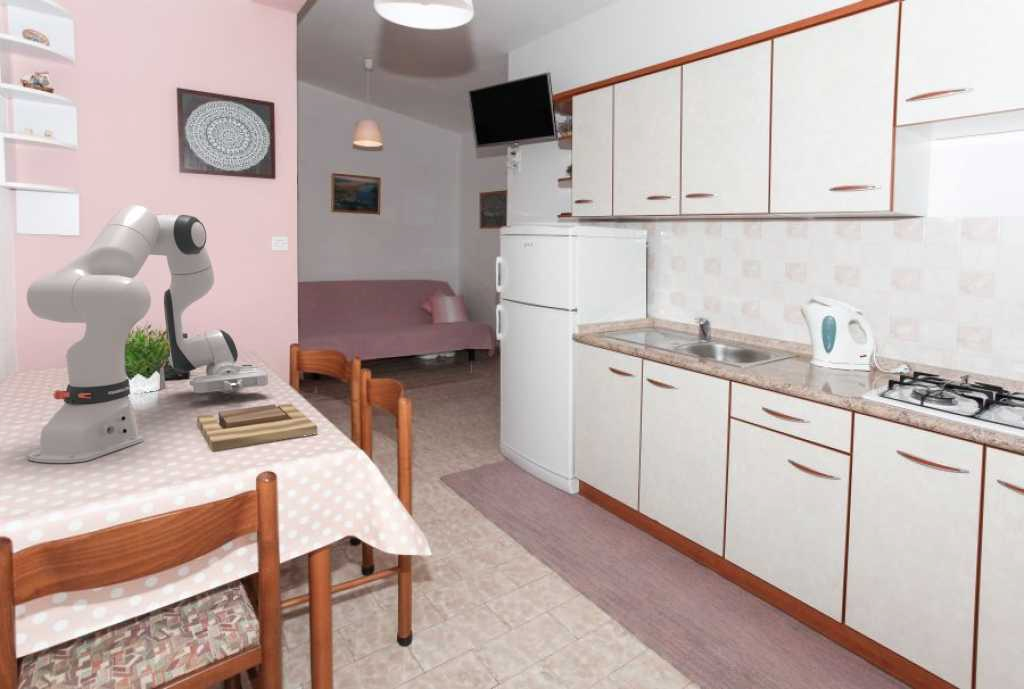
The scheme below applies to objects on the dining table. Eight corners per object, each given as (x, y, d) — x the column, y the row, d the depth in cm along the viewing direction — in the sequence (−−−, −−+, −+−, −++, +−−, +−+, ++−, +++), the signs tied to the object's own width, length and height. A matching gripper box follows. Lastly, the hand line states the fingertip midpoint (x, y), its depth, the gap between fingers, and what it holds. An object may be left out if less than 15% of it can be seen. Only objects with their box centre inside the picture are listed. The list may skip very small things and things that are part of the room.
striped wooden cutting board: (197, 423, 158) (196, 415, 157) (290, 410, 171) (290, 403, 170) (212, 451, 137) (212, 441, 137) (317, 434, 150) (317, 425, 150)
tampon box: (161, 375, 214) (157, 334, 212) (190, 373, 218) (187, 332, 216) (157, 381, 204) (154, 338, 202) (188, 379, 208) (185, 337, 206)
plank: (218, 411, 158) (227, 423, 148) (274, 404, 166) (286, 414, 156) (219, 424, 159) (228, 436, 149) (275, 416, 167) (287, 427, 157)
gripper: (187, 371, 179) (194, 380, 168) (261, 364, 190) (271, 372, 179) (189, 392, 180) (195, 402, 169) (262, 384, 191) (272, 393, 180)
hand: (235, 386), depth 174 cm, fingers closed
